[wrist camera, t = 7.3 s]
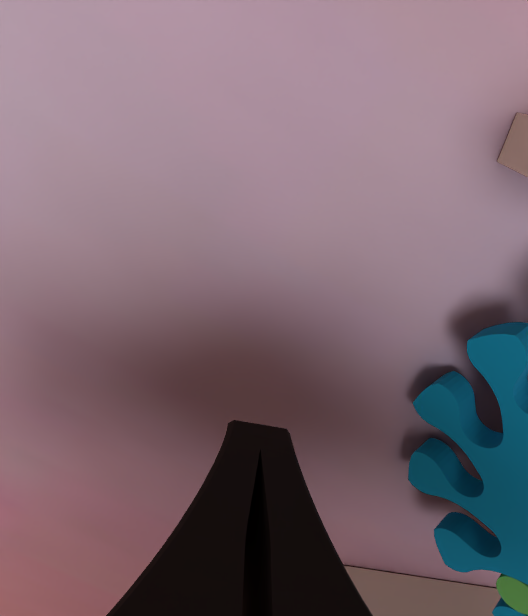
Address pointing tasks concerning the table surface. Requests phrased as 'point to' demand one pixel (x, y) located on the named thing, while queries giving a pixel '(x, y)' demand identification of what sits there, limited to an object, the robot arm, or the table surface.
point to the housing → (423, 591)
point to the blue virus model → (482, 464)
